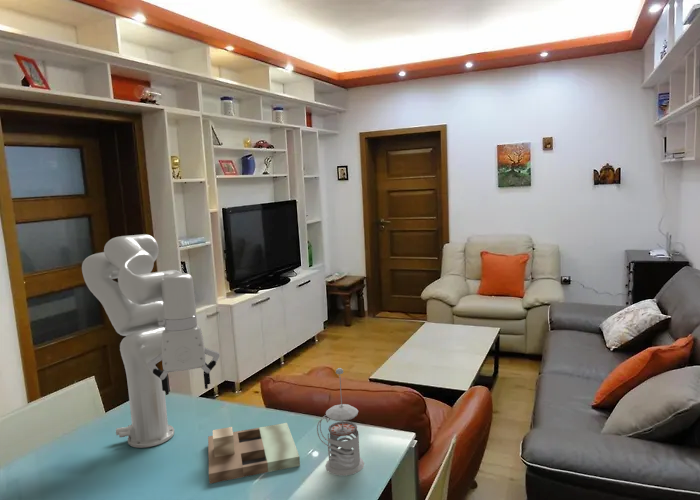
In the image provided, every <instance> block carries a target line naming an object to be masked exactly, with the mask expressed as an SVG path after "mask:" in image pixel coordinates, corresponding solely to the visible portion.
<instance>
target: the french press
mask: <svg viewBox="0 0 700 500" xmlns="http://www.w3.org/2000/svg"><path fill="white" fill-rule="evenodd" d="M343 373H344V369H343V368H341V367H338V368H336V370H335V374H336V375H339V377H341V375H342V374H343ZM343 375H344V374H343ZM341 382H342V380H341V378H339V388H340V389H339V391H340V404H336V405H333V406H331V407H330V408H328V409H326V411H325V414H324V416H322V417H321V418H320V420H318V423H317V424H316V425H317V426H316V434H317V436H318V438H319V441H321V442H322V443H323V444H324V445H326V446H327V454H328V460H327V461H326V463H325V465H324V466H325V469H326V471H327V472H329V473H330V474H332V475H336V476H345V477H346V476H350V475H353V474H356V473H359V472H361V470H363V468H364V467H365V462H364V459H363V458H361V456H360V453H361V452H360V438H359V435H360V434H359V431H358V426H357V425H356V423H353V422H351V421H349V420H352V419H355V417H357V416H358V415H359V414H358V413H359V410H358V409H357V408H356V407H354V406H352V405H350V404H347V403H343V401H342V400H343V399H342V385H341V384H342V383H341ZM324 419H325V420H326V423H329V421H330V420H332V421H336V422H333V423H332V424H330V425H329V427H328V431H329V433H327V438H326V437H325V436H324V434H323V431H322V427H321V425H322V421H323V420H324ZM319 431H320V434H321V437H322V438H323V439H324V440H326V441H327V443H326V442H324V440H322V438H321V437H320V434H319ZM340 437H342V438H340Z"/></svg>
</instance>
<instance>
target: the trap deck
mask: <svg viewBox="0 0 700 500" xmlns="http://www.w3.org/2000/svg"><path fill="white" fill-rule="evenodd" d="M233 439H234V451H235V454H231V455H225V456H220V457H215V456H214V444H213V435H210V436H208V437H207V441H208V443H207V447H208V448H207V449H208V450H207V451H208V481H209V485H211V484H216V483H220V482H225V481H231V480H234V479H241V478H245V477H246V478H247V477H251V476H256V475H261V474H265V473H271V472H275V471H280V470H286V469H291V468H296V467H300V466H301V460H300V457H301V456H300V455H299V451H298V448H297V446H296V443H295V440H294V438H293V435H292V433H291V429H290V428H289V424H288V422H284V423H278V424H273V425H267V426H260V427H255V428H249V429H244V430H236V431H233Z"/></svg>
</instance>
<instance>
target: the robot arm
mask: <svg viewBox="0 0 700 500" xmlns="http://www.w3.org/2000/svg"><path fill="white" fill-rule="evenodd" d="M103 248H104V249H103V251H102V252H96V253H94V254H91V255H89V256H87V257H86V258H85V259H84V260H83V261H82V263H81V272H82V277H83V280H84V282H85V285H86V287H87V288H88V290H89V291H90V292H91V293H92V294H93V296H94V297H95V298H96V299H97V300H98V301H99V302H100V304H101V305H102V308H104V311H105V313H106V315H107V317H108V319H109V321H110V323H111V325H112V327H113V328H114V330H115V332H116V333H117V334H118V335H120V336H122V337H123V338H122V339H121V342H120V343H119V351H120V356H121V359H122V362H123V365H124V369H125V370H124V371H125V374H126V376H125V377H126V381H127V389H128V390H127V391H128V400H129V408H130V409H129V410H130V417H131V419H130V420H131V424H129V425H128V426H126V427H125V426H124V427H117V428H115V434H116V436H119V438H124V437H125V438H126V437H127V444H128V445H129V446H131V447H133V448H139V449H140V448H141V449H143V448H150V447H155V446H158V445H161V444H163V443H165V442H167V441H169V440H170V439H171V438H172V437H173V436H174V434H175V428H174V427H173V426H172V425H170V424H169V423H168V422H169V421H168V415H167V413H168V412H167V411H168V410H167V402H166V396H168V395H169V394H170V383H169V375H168V374H169V373H172V372H173V373H174V372H180V371H188V370H189V371H190V370H195V369H200V368H201V370H202V371H203V382H204V389H205V390H207V389H209V386H208V385H211V375H210V373H211V371H212V370H213V368H214V367H215V366H216V365H217V362H218V361H219V359H220V352H219V351H216V350H213V349H210V348H207V347H205V342H204V341H205V340H204V337H203V332H202V328H201V326H200V325H198V320H197V310H196V307H197V306H196V297H195V296H196V295H195V288H194V286H195V285H194V278H193V276H192V275H191V274H190V273H183V272H181V271H179V270H178V269H177V270H176V269H167V270H163V271H161V270H160V271H155V272H154V271H153V268H154V266H155V265H154V263H155V262H156V260H157V259H158V257H159V253H160V249H159V245H158V241H157V240H156V238H155V237H153V236H152V235H150V234H148V233H147V234H146V233H143V234H134V235H133V234H132V235H121V236H116V237H112V238H111V239H109V240H108V241H107V242H106V243H105V244H104V247H103ZM152 271H153V272H152ZM115 279H117V281H116V280H115ZM206 356H210V357H212V358H211V359H212V360H211V361H210V362H209V363H208V362H207V361H206ZM159 362H162V370H161V369H160V368H158V366H156V365H157V364H158V363H159Z"/></svg>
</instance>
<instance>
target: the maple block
mask: <svg viewBox="0 0 700 500" xmlns="http://www.w3.org/2000/svg"><path fill="white" fill-rule="evenodd" d="M233 432H234V431H233V426H229V427H223V428H216V429H213V430H212V436H213V444H214V456H215V457H220V456H225V455H231V454H235V451H234V439H233Z"/></svg>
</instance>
